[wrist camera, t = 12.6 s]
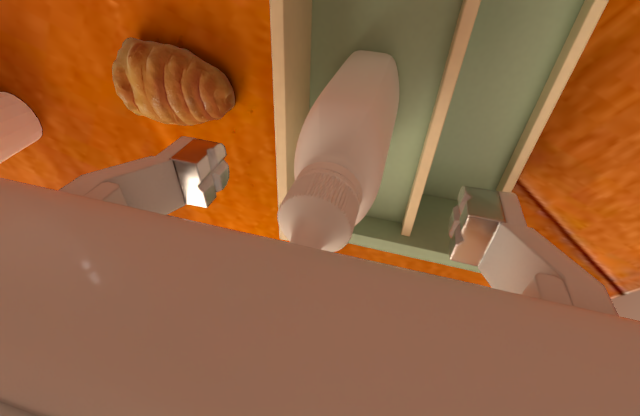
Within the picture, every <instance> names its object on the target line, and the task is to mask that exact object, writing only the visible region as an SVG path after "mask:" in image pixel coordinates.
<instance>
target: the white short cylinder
mask: <svg viewBox="0 0 640 416" xmlns="http://www.w3.org/2000/svg"><path fill="white" fill-rule="evenodd" d="M41 136H42V127H41V125H40V122H39V120H38V118H37V117H36V115H35V114H34V113H33V111H32V110H31V109H30V108H29V107H28V106H27V105H26V104H25V103H24V102H23V101H22V100H20V99H19V98H17V97H16V96H14V95H12V94H9V93H6V92H0V163H1V162H3V161H5V160H6V159H8V158H10V157H11V156H13V155H14V154H16V153H18V152H19V151H21V150H23V149H24V148H26V147H27V146H29V145H31V144H32V143H34V142H35V141H37V140H39V139H40V137H41Z"/></svg>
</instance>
